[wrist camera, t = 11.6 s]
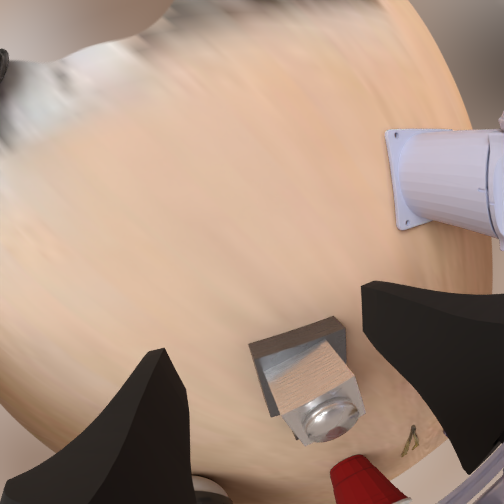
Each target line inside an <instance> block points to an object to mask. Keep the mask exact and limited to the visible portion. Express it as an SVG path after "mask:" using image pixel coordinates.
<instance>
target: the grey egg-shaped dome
mask: <svg viewBox="0 0 504 504" xmlns="http://www.w3.org/2000/svg"><path fill="white" fill-rule="evenodd" d="M192 481H193V486H194V491H195V496H196V501H197V504H233V501H232V500H231V499H230V498H229V497H228V495H227V494H226V492H225V491H224V490H223V488H222V487H221V486H219V485H218V484H217V483H215V482H214V481H212V480H210V479H207V478H204V477H200V476H193V475H192Z"/></svg>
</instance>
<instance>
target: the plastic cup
mask: <svg viewBox="0 0 504 504" xmlns="http://www.w3.org/2000/svg"><path fill="white" fill-rule="evenodd" d="M330 475H331V476H330V477H331V481H332V485H333V488H334V490H333V491H334V495H335V499H336V504H409V503H410V502H411V501H412V499H411V498H410V497H409V498H408V497H407V496H405V495H404V494H403V493H402V492H400V491H399V489H398V488H396V487H395V486H394V485H393V484H392V483H391V482H390V481H389V480H388V479H387V478H386V477H385V476H384V475H383V474H382V473H381V472H380V471H379V470H378V469H377V468H376V467H374V466H373V465H372V464H371V463H370V461H369V460H368V459H367V458H366V457H364V456H363V455H355V456H352V457H349V458H347V459H345V460H343V461H341V462H340V463H338V464H337V465H335V466H334V467H333V468H332V469H331V471H330Z"/></svg>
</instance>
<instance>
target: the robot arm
mask: <svg viewBox="0 0 504 504" xmlns="http://www.w3.org/2000/svg"><path fill="white" fill-rule="evenodd" d="M498 121H499V124H500V127H501V128H500V129H482V130H457V131H453V130H452V129H390V130H387V131H386V132H385V140H386V145H387V150H388V156H389V163H390V169H391V176H392V184H393V192H394V201H395V212H396V225H397V228H398V229H399V230H406V229H409V228H412V227H415V226H418V225H421V224H425V223H428V222H431V221H438V222H442V223H446V224H450V225H453V226H457V227H460V228H464V229H468V230H471V231H474V232H478V233H481V234H484V235H488V236H491V237H494V238H497V239H499V241H500V250H501V251H504V111H503V114H502V117H500V118H499V120H498ZM394 134H396V138H395V136H394ZM406 221H407V224H406ZM361 296H362V319H363V332H364V333H365V335H366V336H367V338H368V339H369V340H370V342H371V343H372V344H373V346H374V347H375V348H376V350H377V351H378V352H379V353H380V354H381V355H382V356H383V357H384V358H385V359H386V360H387V361H388V362H389V363H390V364H391V365H392V366H393V367H394V368H395V369H396V370H397V371H398V372H399V373H400V374H401V375H402V376H403V377H404V378H405V379H406V380H407V381H408V382H409V383H410V384H411V385H412V386H413V387H414V388H415V389H416V390H417V392H418V393H419V394H420V396H421V397H422V398H423V400H424V401H425V402H426V404H427V405H428V406H429V408H430V409H431V411H432V412H433V414H434V415H435V417H436V418H437V420H438V421H439V423H440V424H441V426H442V428H443V429H444V431H445V433H446V434H447V436H448V438H449V440H450V441H451V443H452V445H453V447H454V449H455V451H456V453H457V456H458V458H459V460H460V462H461V465H462V467H463V469H464V470H465V471H466V473H467V474H468V475H470V474H471V473H472V472H473V471H474V470H476V468H478V467H479V466H480V465H481V464H482V463H483V461H485V460H486V459H487V458H488V457H489V456H490V455H491V454H492V453H493V452H494V451H495V450H496V448H497V447H498V446H499V445H500V444H501V443H502V445H501V446H500V447H499V448H498V449H497V450H496V451H495V452H494V453H493V455H492V456H491V457H490V458H489V459H488V460H487V461H486V462H485V463H484V464H483V465H482V466H481V467H480V468H478V469H477V470H476V471H475V472H474V473H473V474H472V475H471V476H470V477H469V478H468V479H466V480H465V481H464V482H463V483H462V484H461V485H459V486H458V487H457V488H456V489H455V490H453V491H452V492H451V493H450V494H448V495H447V496H446V497H445V498H443V499H442V500H440V501H439V502H438V503H436V504H466V503H467V502H468V501H469V500H471V499H472V498H473V497H474V496H475V495H476V494H477V493H479V491H481V490H482V489H483V488H484V487H485V486H486V485H487V484H488V483H489V482H490V481H491V480H492V479H493V478H494V477H495V476H496V475H497V474H498V472H499V471H500V470H501V469H502V468H503V467H504V294H492V295H471V294H455V293H447V292H439V291H433V290H427V289H421V288H416V287H411V286H406V285H400V284H395V283H389V282H383V281H372V282H370V283H367V284H365V285H362V286H361ZM0 504H197V501H196V496H195V491H194V486H193V481H192V475H191V464H190V420H189V407H188V400H187V393H186V388H185V387H184V385H183V383H182V381H181V379H180V377H179V375H178V373H177V372H176V370H175V368H174V366H173V364H172V362H171V360H170V358H169V356H168V354H167V352H166V350H165V348H161V349H157V350H153V351H149V352H148V353H147V354H146V355H145V356H144V358H143V359H142V360H141V362H140V363H139V364H138V366H137V367H136V368H135V370H134V371H133V373H132V374H131V375H130V377H129V378H128V379H127V381H126V382H125V383H124V385H123V386H122V388H121V389H120V390H119V391H118V393H117V394H116V395H115V396H114V398H113V399H112V400H111V401H110V403H109V404H108V405H107V406H106V408H105V409H104V410H103V411H102V412H101V413H100V415H99V416H98V417H97V418H96V419H95V420H94V421H93V422H92V423H91V424H90V425H89V426H88V427H87V428H86V429H85V430H84V431H83V432H82V433H81V434H80V435H79V436H77V437H76V438H75V439H74V440H73V441H71V442H70V443H69V444H68V445H67V446H65V447H64V448H63V449H62V450H60V451H59V452H58V453H56V454H55V455H54V456H52V457H51V458H49V459H48V460H46V461H44V462H43V463H41V464H40V465H38V466H36V467H34V468H33V469H31V470H29V471H27V472H25V473H22V474H20V475H18V476H16V477H14V478H12V479H9V480H8V481H7V482H6V484H5V487H4V491H3V494H2V498H1V501H0ZM473 504H504V469H503V475H502V477H501V478H499V479H498V480H497V481H496V482H495V483H494V484H493V485H492V486H491V487H490V488H489V489H488V490H486V492H484V493H483V494H482V495H481V496H480V497H479V498H478V499H477V500H476V501H475V502H474V503H473Z"/></svg>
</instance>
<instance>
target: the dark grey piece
mask: <svg viewBox="0 0 504 504" xmlns="http://www.w3.org/2000/svg"><path fill="white" fill-rule="evenodd" d="M324 339H326V340H327V342H328V343H329V344H330V345H331V347H332V348H333V349H334V350H335V352H336V353H337V354H338V355H339V357H340V358H341V359H342V360H343V362H344V363H345V364H346V332H345V327H344V326H343V325H342V324H341V323H340V322H339V321H338V320H337V319H336V318H335V317H334V316H332V317H330V318H327V319H324V320H321V321H319V322H316V323H313V324H310V325H307V326H304V327H301V328H298V329H295V330H292V331H289V332H286V333H283V334H280V335H277V336H273V337H270V338H267V339H264V340H260V341H257V342H254V343H250V344H249V348H250V351H251V355H252V358H253V362H254V365H255V369H256V372H257V375H258V379H259V382H260V385H261V389H262V392H263V395H264V399H265V402H266V405H267V408H268V410H269V413H270V416H271V417H274V416H278V415H280V412H279V410H278V407H277V405H276V402H275V400H274V397H273V394H272V392H271V389H270V387H269V384H268V382H267V379H266V377H265V374H264V371H266V370H268V369H270V368H272V367H274V366H276V365H278V364H280V363H282V362H284V361H286V360H287V359H289V358H291V357H293V356H295V355H297V354H299V353H301V352H302V351H304V350H306V349H308V348H310V347H311V346H313V345H315V344H317V343H319V342H320V341H322V340H324ZM292 432H293V431H292ZM293 434H294V436H295V439H296V440H298V439H299V438H298V437H297V436H296V434H295V433H294V432H293Z"/></svg>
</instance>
